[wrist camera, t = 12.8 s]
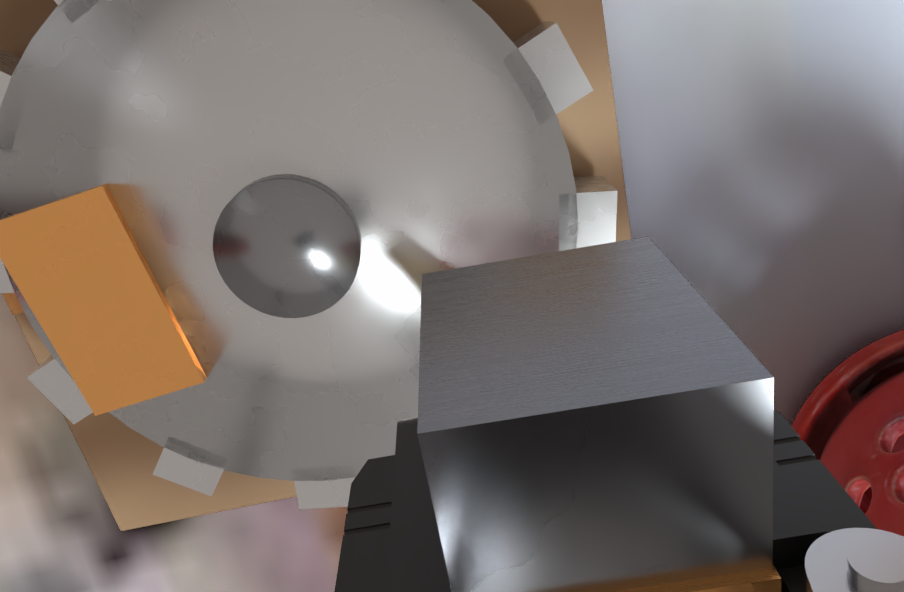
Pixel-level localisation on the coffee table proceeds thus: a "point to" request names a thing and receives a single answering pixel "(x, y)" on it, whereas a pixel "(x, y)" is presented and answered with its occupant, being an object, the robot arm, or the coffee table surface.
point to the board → (159, 500)
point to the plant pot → (863, 429)
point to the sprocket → (272, 213)
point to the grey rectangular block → (593, 428)
